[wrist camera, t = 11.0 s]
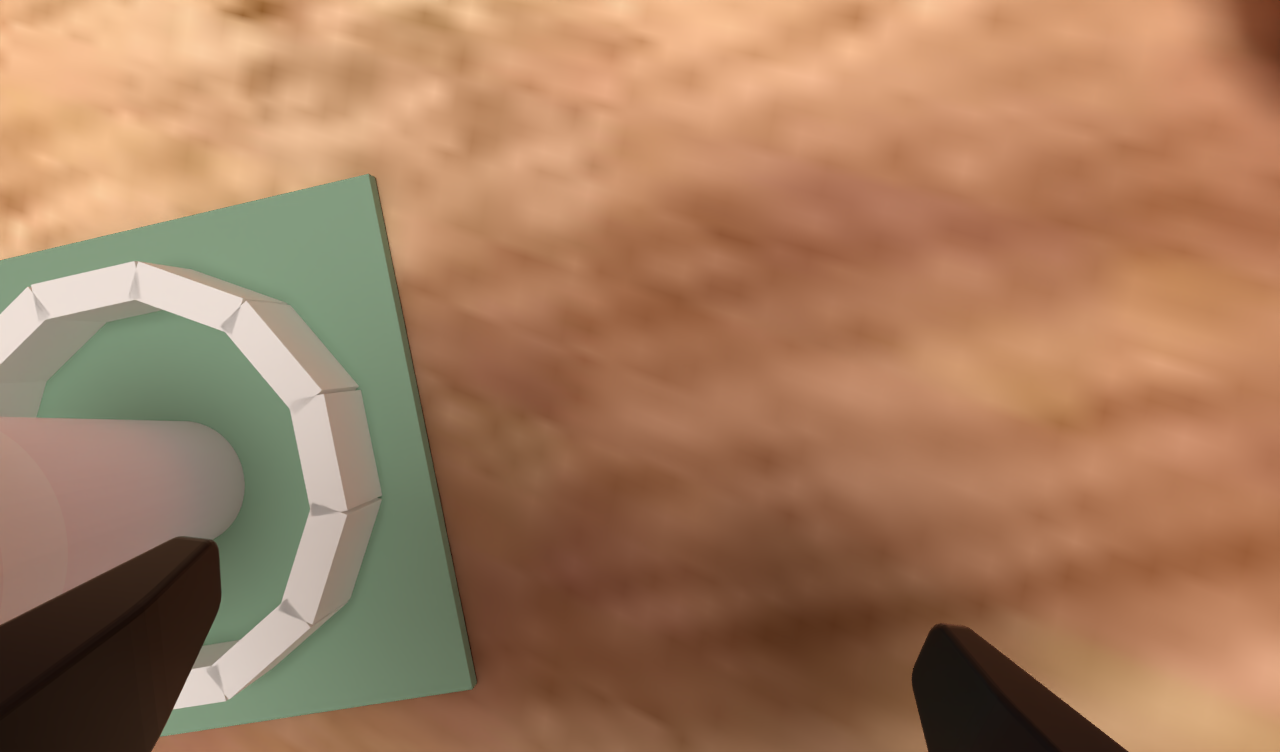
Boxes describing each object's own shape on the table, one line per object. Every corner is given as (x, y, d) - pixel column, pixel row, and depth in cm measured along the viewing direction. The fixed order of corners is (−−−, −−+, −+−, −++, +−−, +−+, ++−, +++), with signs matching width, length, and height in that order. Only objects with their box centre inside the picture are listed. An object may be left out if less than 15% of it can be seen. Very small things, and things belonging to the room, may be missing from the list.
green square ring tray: (476, 682, 21) (447, 724, 19) (22, 752, 23) (-58, 798, 21) (375, 177, 21) (331, 155, 19) (-77, 282, 23) (-170, 275, 20)
